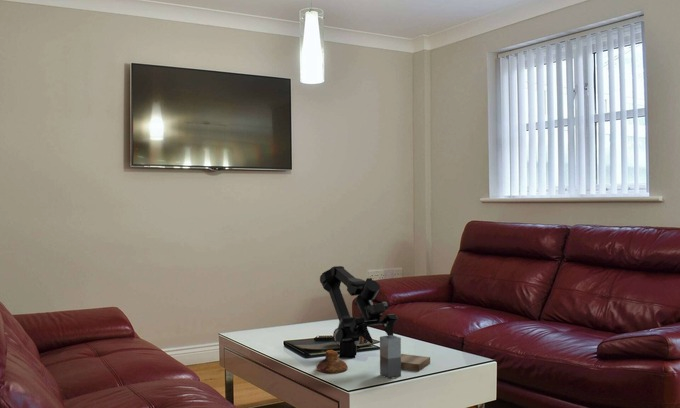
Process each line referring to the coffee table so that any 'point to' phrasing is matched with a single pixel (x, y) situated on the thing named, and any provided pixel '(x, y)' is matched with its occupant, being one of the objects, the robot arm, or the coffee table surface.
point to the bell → (331, 363)
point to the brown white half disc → (361, 341)
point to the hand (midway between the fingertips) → (382, 341)
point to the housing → (390, 356)
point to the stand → (414, 362)
